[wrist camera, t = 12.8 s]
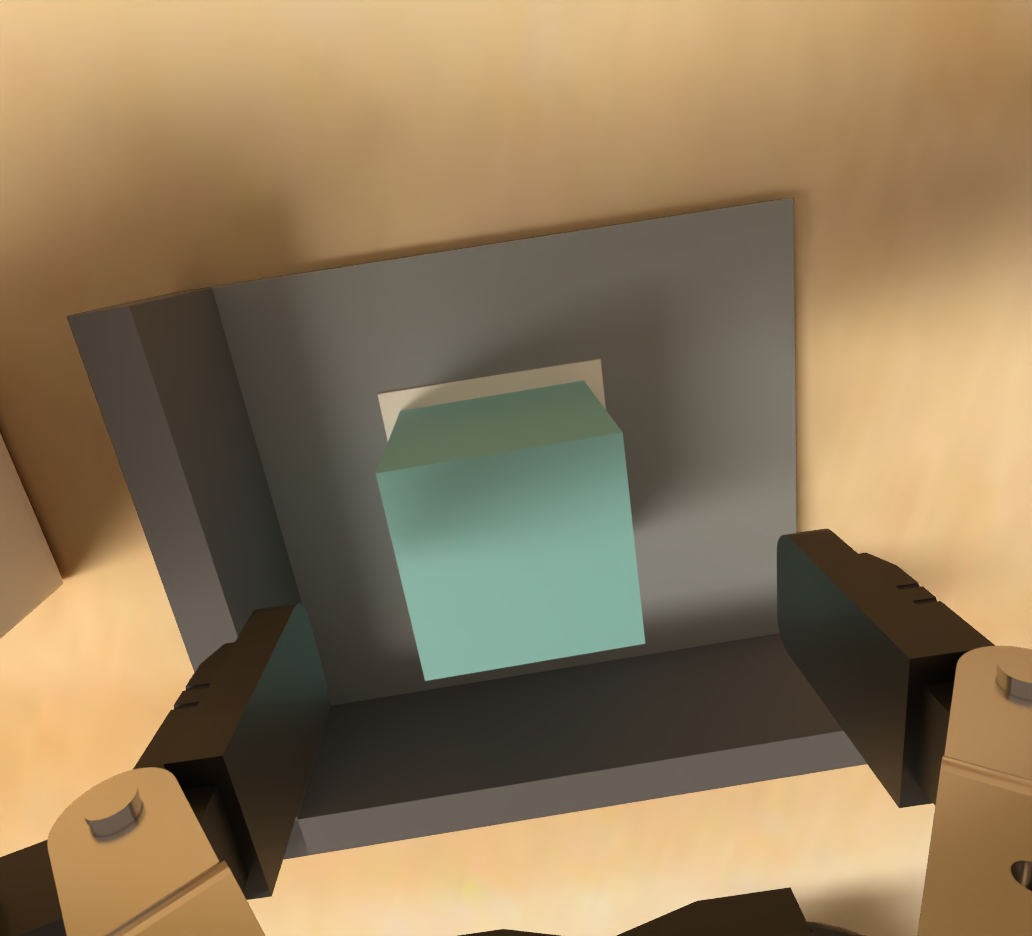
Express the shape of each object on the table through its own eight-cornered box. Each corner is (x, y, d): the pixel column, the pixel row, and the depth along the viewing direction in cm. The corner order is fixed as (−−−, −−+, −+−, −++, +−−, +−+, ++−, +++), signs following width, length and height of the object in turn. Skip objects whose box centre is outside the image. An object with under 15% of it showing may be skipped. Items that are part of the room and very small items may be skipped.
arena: (783, 198, 18) (894, 187, 13) (789, 651, 23) (873, 762, 18) (173, 292, 18) (66, 316, 13) (306, 729, 22) (263, 862, 18)
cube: (584, 380, 18) (622, 432, 14) (604, 546, 20) (645, 643, 15) (399, 410, 18) (375, 474, 14) (435, 574, 20) (425, 681, 15)
